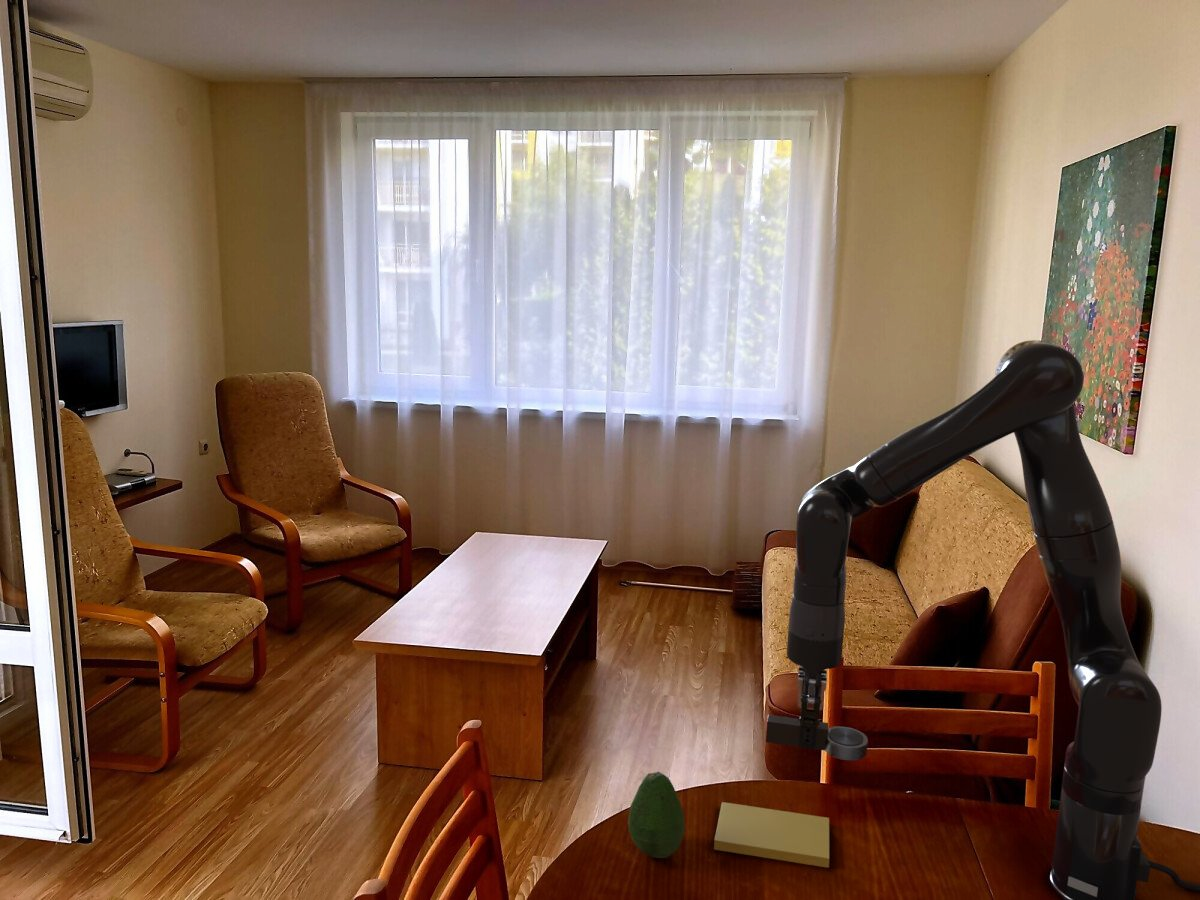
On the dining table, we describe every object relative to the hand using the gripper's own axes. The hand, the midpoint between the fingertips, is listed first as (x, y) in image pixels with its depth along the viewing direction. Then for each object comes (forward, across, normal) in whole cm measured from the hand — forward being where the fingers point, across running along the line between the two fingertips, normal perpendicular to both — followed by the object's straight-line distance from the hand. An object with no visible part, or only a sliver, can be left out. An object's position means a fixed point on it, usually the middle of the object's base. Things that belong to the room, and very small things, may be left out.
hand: (807, 741), depth 130 cm
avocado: (+16, -9, +20) cm, 27 cm away
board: (+16, -1, +4) cm, 16 cm away
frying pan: (0, 0, -1) cm, 1 cm away
